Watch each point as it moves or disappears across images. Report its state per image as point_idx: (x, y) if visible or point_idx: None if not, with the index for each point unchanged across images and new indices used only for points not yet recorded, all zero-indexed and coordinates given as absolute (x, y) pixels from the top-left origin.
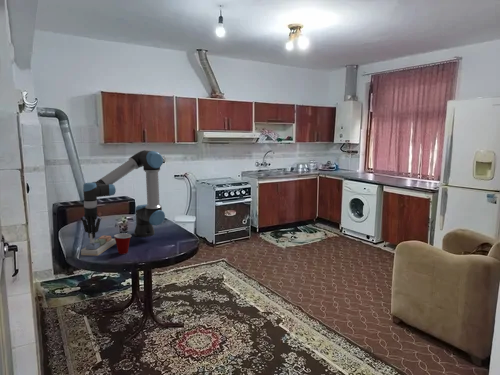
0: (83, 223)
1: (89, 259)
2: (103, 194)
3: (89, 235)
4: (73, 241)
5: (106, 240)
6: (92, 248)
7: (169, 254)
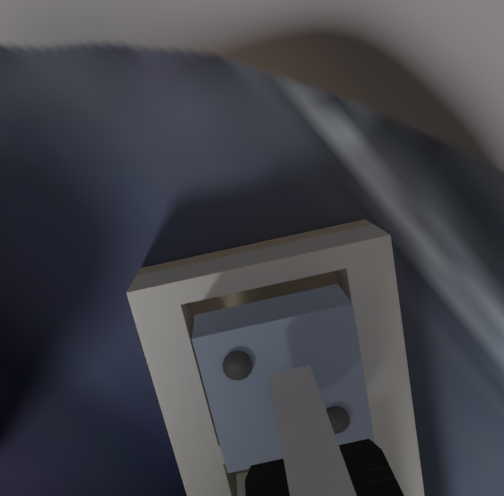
0: None
1: (141, 119)
2: None
3: (368, 487)
4: None
5: None
6: (234, 312)
7: None
